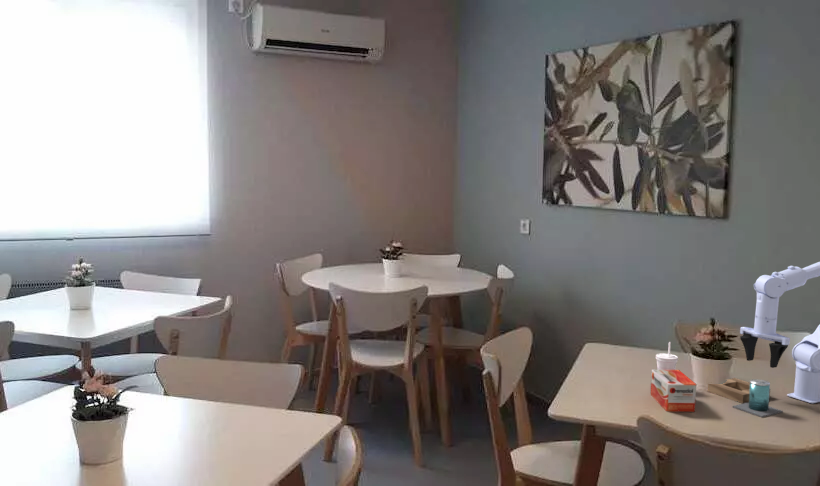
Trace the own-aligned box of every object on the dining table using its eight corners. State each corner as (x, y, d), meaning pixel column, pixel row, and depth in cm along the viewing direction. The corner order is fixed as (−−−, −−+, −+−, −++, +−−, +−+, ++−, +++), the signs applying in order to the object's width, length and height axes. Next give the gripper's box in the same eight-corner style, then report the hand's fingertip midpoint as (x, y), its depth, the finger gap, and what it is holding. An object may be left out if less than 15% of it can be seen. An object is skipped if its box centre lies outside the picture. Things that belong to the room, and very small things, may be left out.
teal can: (754, 404, 212) (755, 378, 212) (771, 408, 208) (773, 382, 208) (745, 407, 209) (746, 381, 209) (762, 412, 205) (764, 385, 205)
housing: (734, 385, 230) (734, 378, 230) (769, 397, 220) (770, 389, 220) (707, 391, 225) (708, 383, 224) (742, 403, 214) (743, 394, 214)
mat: (753, 402, 215) (753, 401, 215) (782, 412, 207) (782, 410, 207) (732, 407, 211) (732, 405, 211) (761, 417, 203) (761, 415, 203)
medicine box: (649, 394, 221) (650, 368, 220) (677, 395, 221) (678, 368, 220) (666, 412, 206) (668, 384, 205) (696, 413, 206) (698, 384, 205)
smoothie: (677, 391, 224) (680, 345, 222) (655, 389, 225) (657, 343, 224) (674, 385, 230) (677, 340, 229) (652, 383, 232) (655, 338, 230)
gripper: (735, 313, 220) (730, 358, 222) (780, 323, 208) (775, 371, 209) (750, 311, 224) (746, 356, 225) (796, 321, 211) (791, 369, 213)
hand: (761, 363), depth 218 cm, fingers open, 7 cm apart
